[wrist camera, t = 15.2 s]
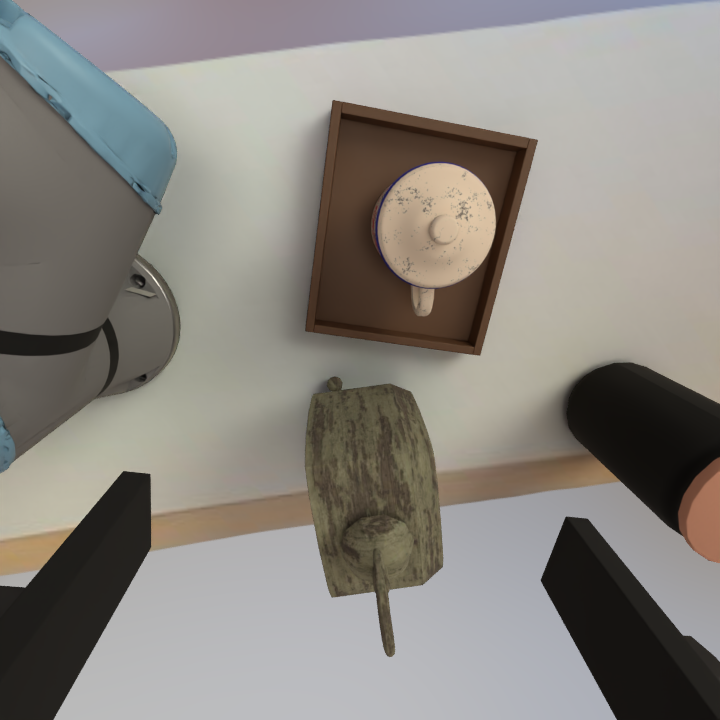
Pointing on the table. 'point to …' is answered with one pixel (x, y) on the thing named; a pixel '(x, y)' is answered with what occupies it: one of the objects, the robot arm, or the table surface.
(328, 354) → the table surface
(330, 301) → the tray
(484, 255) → the teacup with lid
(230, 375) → the table surface
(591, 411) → the coffee jar
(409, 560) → the green bell
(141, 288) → the robot arm
